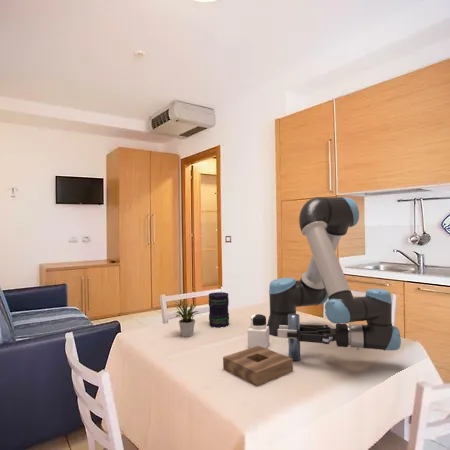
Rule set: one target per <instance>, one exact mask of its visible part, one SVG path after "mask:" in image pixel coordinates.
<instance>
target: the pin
mask: <svg viewBox="0 0 450 450" xmlns="http://www.w3.org/2000/svg"><path fill="white" fill-rule="evenodd" d="M300 321H301V319H300V314H299V313H296V314H288V330H297V329H298V330H299V331H300V324H301V322H300ZM287 339H288V357H290V358H293V361H299V360H301V342H300V341H299V340H298V339H295V338H287Z"/></svg>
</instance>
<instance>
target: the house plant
mask: <svg viewBox="0 0 450 450" xmlns="http://www.w3.org/2000/svg"><path fill="white" fill-rule="evenodd" d="M172 301H174V302H175V303H174V305H175V306H174V307H175V308H176V309H177V310H178V311H176V312H175V315H176V316H175V318H178V317H179V318H180V319H179V321H178V324H179V329H180V335H181V336H182V337H185V338H186V337H187V338H189V337H192V336H193V335H194V329H195V323H196V320H195V319H194V316H196V315H198V314H199V312H200V311H198V310H195V311H194V309H195V308H196V307H197V305H198V304H199V303H201V302H202V300H201V301H198V302H197V303H196V304H193V302H194V301H192V302H191V304H190V306H189V308H188V305H189V302H190V301H187V302H186V304H185V303H184V301H183V300H182V299H180V302H181V305H182V306H181V305H180V303H179V302H178V301H177V300H173V299H172Z"/></svg>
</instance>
